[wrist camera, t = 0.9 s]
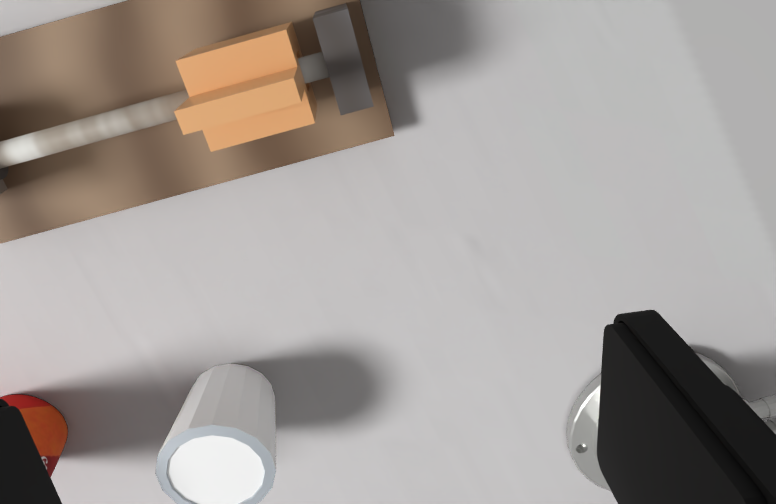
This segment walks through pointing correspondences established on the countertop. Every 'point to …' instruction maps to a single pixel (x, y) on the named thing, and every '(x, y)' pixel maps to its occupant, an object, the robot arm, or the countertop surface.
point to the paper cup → (42, 426)
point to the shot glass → (222, 440)
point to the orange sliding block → (245, 88)
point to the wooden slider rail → (160, 105)
